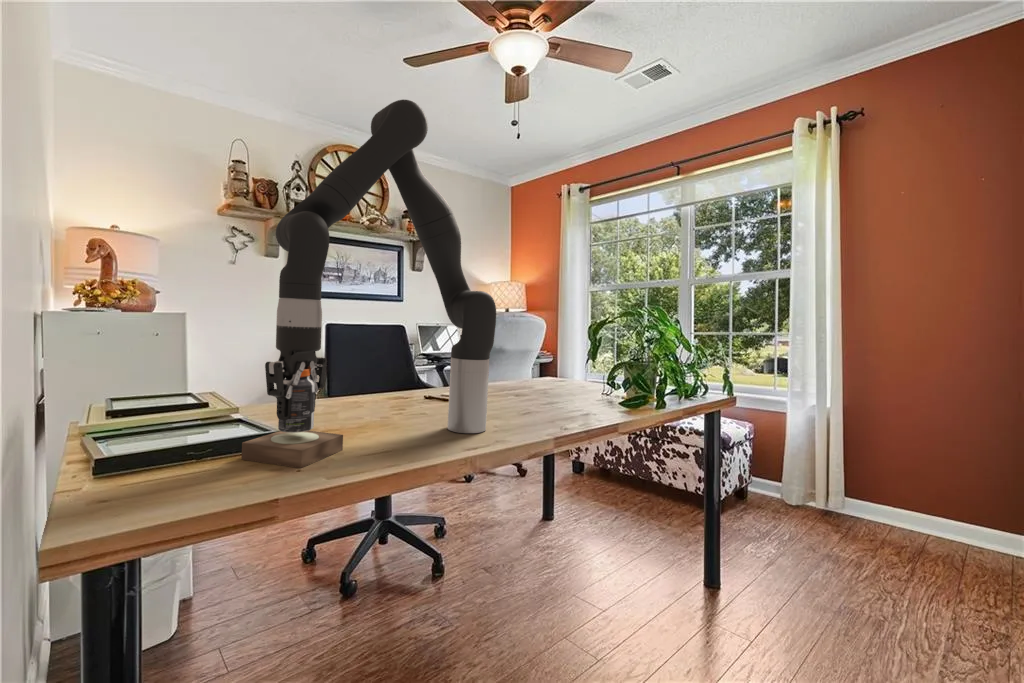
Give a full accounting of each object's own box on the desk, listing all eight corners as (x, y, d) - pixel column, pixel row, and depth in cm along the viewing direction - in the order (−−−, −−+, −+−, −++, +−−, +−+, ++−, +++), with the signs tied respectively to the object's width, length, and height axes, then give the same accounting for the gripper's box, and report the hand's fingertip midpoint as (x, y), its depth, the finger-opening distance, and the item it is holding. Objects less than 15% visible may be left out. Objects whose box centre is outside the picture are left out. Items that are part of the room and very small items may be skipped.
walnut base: (289, 443, 94) (289, 427, 94) (342, 450, 91) (343, 433, 91) (241, 459, 82) (242, 441, 82) (301, 468, 80) (301, 449, 79)
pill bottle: (319, 427, 89) (321, 367, 89) (302, 434, 83) (304, 370, 83) (289, 424, 90) (291, 365, 89) (270, 432, 84) (272, 368, 84)
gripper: (289, 325, 78) (286, 426, 79) (340, 325, 92) (337, 410, 93) (251, 323, 80) (249, 421, 80) (307, 323, 94) (304, 407, 94)
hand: (296, 415), depth 87 cm, fingers closed on pill bottle, 6 cm apart
